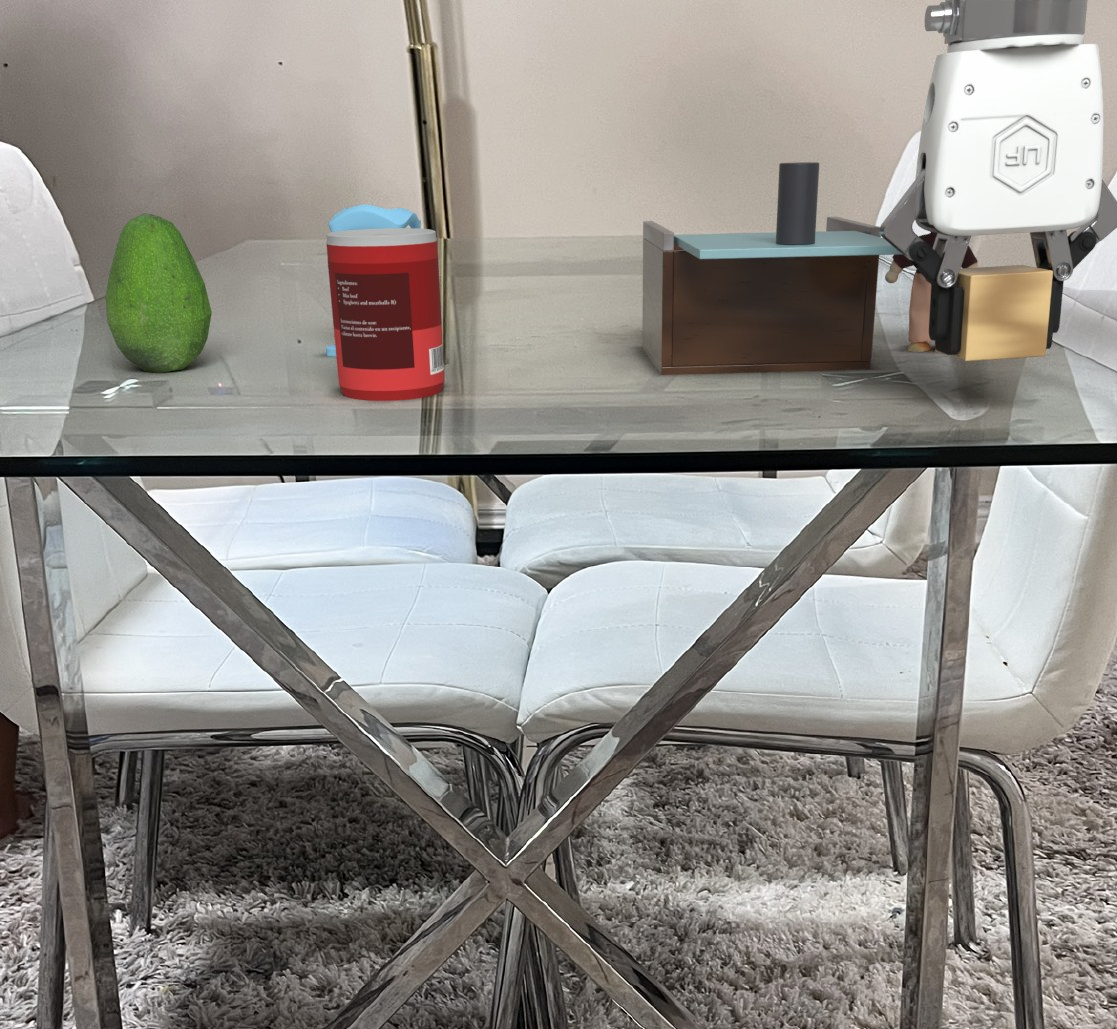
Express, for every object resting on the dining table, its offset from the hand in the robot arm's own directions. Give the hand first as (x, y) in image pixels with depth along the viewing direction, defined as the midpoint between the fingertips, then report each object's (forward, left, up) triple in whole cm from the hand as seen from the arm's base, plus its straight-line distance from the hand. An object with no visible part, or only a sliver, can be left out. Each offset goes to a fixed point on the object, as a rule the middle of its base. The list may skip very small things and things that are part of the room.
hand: (992, 346), depth 84 cm
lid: (+11, -13, +5) cm, 18 cm away
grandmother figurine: (-4, -26, -4) cm, 27 cm away
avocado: (+58, -26, -4) cm, 64 cm away
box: (+11, -24, -4) cm, 27 cm away
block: (0, 0, 0) cm, 0 cm away
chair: (+41, -34, -4) cm, 54 cm away
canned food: (+39, -13, -4) cm, 41 cm away
